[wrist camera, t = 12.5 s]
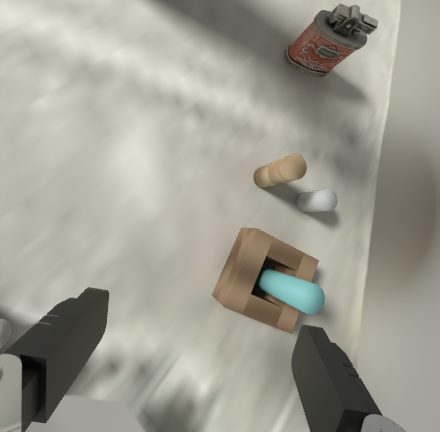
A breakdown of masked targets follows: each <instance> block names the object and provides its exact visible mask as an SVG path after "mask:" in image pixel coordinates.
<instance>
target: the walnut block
mask: <svg viewBox="0 0 440 432" xmlns="http://www.w3.org/2000/svg"><path fill="white" fill-rule="evenodd" d="M265 259H266V260H268V261H270V262H272V263H274V264H276V265H277V266H276V269H275V271H278V272H281V273H284V274H287V275H290V276H293V277H296V278H299V279H302V280H305V281H308V282H311V281H312V278H313V275H314V273H315V270H316V267H317V265H318V262H319V260H317V259H315V258H313V257H311V256H309V255H307V254H305V253H304V252H302V251H300V250H298V249H296V248H294V247H292V246H290V245H288V244H286V243H284V242H282V241H280V240H278V239H276V238H274V237H273V236H271V235H269V234H267V233H265V232H263V231H261V230H259V229H254V228H241V230H240V232H239V234H238V236H237V239H236V241H235V243H234V246H233V248H232V250H231V253H230V255H229V257H228V259H227V262H226V264H225V266H224V269H223V271H222V273H221V276H220V278H219V280H218V282H217V285H216V287H215V289H214V292H213V294H212V296H213V297H214V298H215V299H216V300H217V301H218V302H219V303H220V304H222V305H223V306H224V307H225V308H228V309H230V310H233V311H235V312H238V313H240V314H243V315H245V316H248V317H250V318H253V319H256V320H258V321H261V322H263V323H266V324H268V325H271V326H273V327H276V328H278V329H281V330H283V331H286V332H288V333H291V334H292V331H293V329H294V326H295V323H296V321H297V318H298V315H299V313H300V310H298V309H296V308H294V307H293V306H291V305H289V304H287V303H285V302H283V301H281V300H279V299H277V298H275V297H273V296H271V295H270V294H268V293H266V294H265V296H264V297H263V296H260V295H258V294H256V293H253V292H252V289H253V287H254V284H255V282H256V279H257V277H258V274H259V272H260V270H261V267H262V265H263V262H264V260H265Z"/></svg>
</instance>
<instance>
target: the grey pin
mask: <svg viewBox="0 0 440 432" xmlns="http://www.w3.org/2000/svg"><path fill="white" fill-rule="evenodd" d="M336 205H337V196H336V194H335V193H334V191H332V190H330V189H324V190H318V191H312V192H307V193H302V194H300V195H299V196H298V198H297V207H298V208H299V210H300V211H302V212H321V211H331V210H333V209H334V208H335V207H336Z"/></svg>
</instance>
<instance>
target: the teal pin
mask: <svg viewBox="0 0 440 432" xmlns="http://www.w3.org/2000/svg"><path fill="white" fill-rule="evenodd" d="M254 287H256V288H258V289H260V290H262V291H264V292H266V293H268V294H270V295H271V296H273V297H275V298H277V299H279V300H281V301H283V302H285V303H287V304H289V305H291V306H293V307H294V308H296V309H298V310H300V311H302V312H304V313H306V314H309V315H313V314H316V313H317V312H319V311H320V310H321V308H322V307H323V304H324V299H325V298H324V292H323V290H322V288H321V287H320V286H318V285H317V284H314V283H311V282H308V281H305V280H302V279H299V278H296V277H293V276H290V275H287V274H284V273H281V272H278V271H275V270H272V269H269V268H265V267H261V270H260V272H259V274H258V277H257V279H256V282H255V284H254Z"/></svg>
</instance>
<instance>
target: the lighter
mask: <svg viewBox="0 0 440 432" xmlns="http://www.w3.org/2000/svg"><path fill="white" fill-rule="evenodd" d="M359 10H360V8H359V6H357V5H353V6H351V7H347V6H345V5H343V4H341V3H340V4H339V5H338V6H337V7H336V8H335V9H334V10H333V12H330V11H326V10H322V11H320V12H319V13H318V14H317V15H316V17H315V18H314V21H313V22H312V23H311V24H310V25H309V27H308V28H307V29H306V30H305V31H304V32H303V33H302V34H301V36H300V37H299V38H298V39H297V40H296V41H295V42H294V43H293V45H290V46H289V47H288V48H287V49H286V51H285V53H284V58H285V61H286V63H287V64H288V65H290V66H292V67H293V68H295V69H297V70H299V71H301V72H304V73H306V74H310V75H314V76H321V77H323V76H325V75H326V74H328V73H329V72H330V70H331V69H332V68H333V67H335V66H336V65H337V64H339V63H340V62H341V61H342V60H344V59H345V58H346V57H348V56H349V55H350V54H351V53H353V52H354V51H355V50H359V49H360V48H361V47H363V46H364V45H365V44H366V42H367V34H370V33H372V32H373V31H374V30H375V29H377V26H378V21H377V20H376V19H374V18H372V17H370V16H368V15H366V14H362V13H360V12H359Z"/></svg>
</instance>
